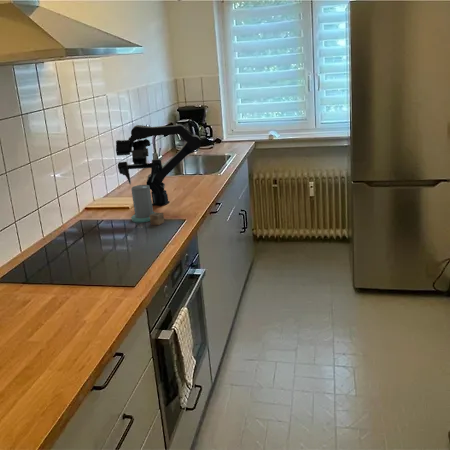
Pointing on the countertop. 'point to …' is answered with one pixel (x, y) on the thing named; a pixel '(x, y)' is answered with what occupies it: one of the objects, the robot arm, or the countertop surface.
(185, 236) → the countertop surface
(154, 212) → the dish
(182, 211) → the countertop surface
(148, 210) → the grey faceted cylinder
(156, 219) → the walnut block
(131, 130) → the robot arm
